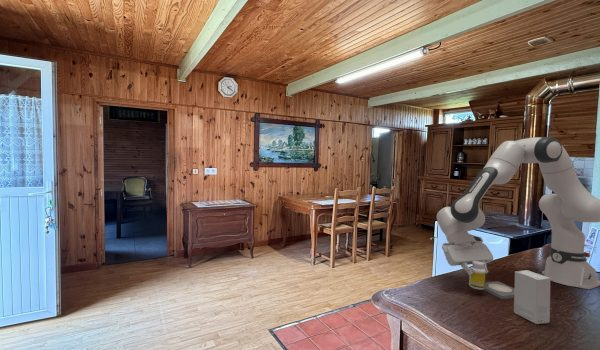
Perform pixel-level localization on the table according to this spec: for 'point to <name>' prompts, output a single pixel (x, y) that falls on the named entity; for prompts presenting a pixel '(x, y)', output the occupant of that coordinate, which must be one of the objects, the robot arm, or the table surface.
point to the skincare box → (532, 296)
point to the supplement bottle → (477, 275)
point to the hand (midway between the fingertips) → (479, 273)
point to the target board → (499, 290)
